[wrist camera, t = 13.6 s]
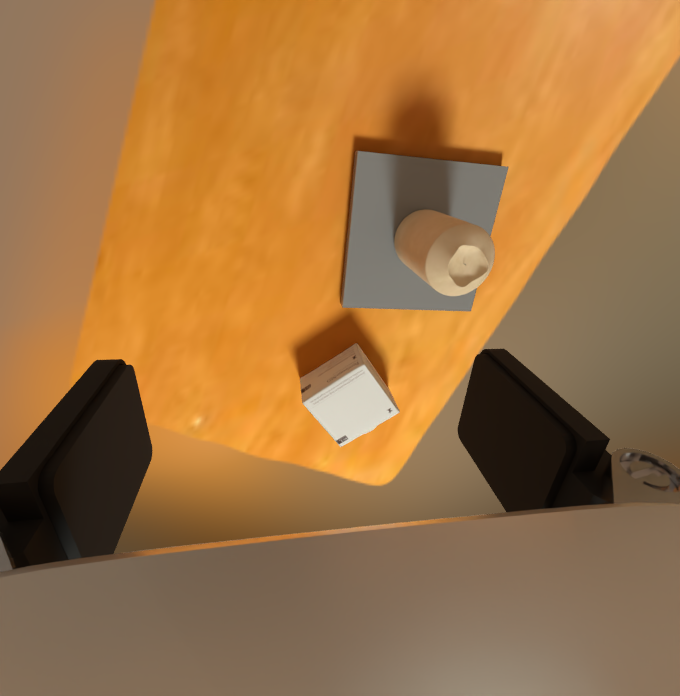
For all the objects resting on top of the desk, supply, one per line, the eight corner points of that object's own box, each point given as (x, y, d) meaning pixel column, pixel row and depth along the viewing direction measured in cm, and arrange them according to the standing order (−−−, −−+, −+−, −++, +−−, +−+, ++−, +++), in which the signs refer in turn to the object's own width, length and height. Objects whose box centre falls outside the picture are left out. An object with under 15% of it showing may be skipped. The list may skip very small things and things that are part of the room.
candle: (457, 216, 35) (517, 236, 26) (437, 272, 38) (487, 308, 29) (403, 202, 34) (448, 219, 25) (386, 261, 36) (422, 295, 27)
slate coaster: (355, 151, 33) (357, 150, 31) (501, 166, 35) (508, 166, 34) (340, 303, 39) (342, 307, 38) (465, 307, 41) (470, 311, 40)
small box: (356, 340, 41) (366, 362, 37) (389, 387, 45) (402, 413, 40) (297, 377, 42) (300, 403, 38) (334, 420, 46) (341, 449, 41)
